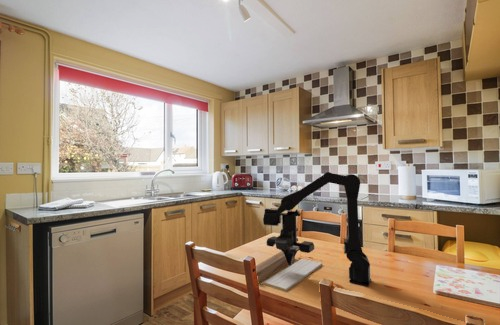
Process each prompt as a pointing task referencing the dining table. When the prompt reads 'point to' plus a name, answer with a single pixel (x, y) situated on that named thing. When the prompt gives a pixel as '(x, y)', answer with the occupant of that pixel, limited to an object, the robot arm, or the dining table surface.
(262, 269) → the walnut plank
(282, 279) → the baseboard molding
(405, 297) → the dining table surface
